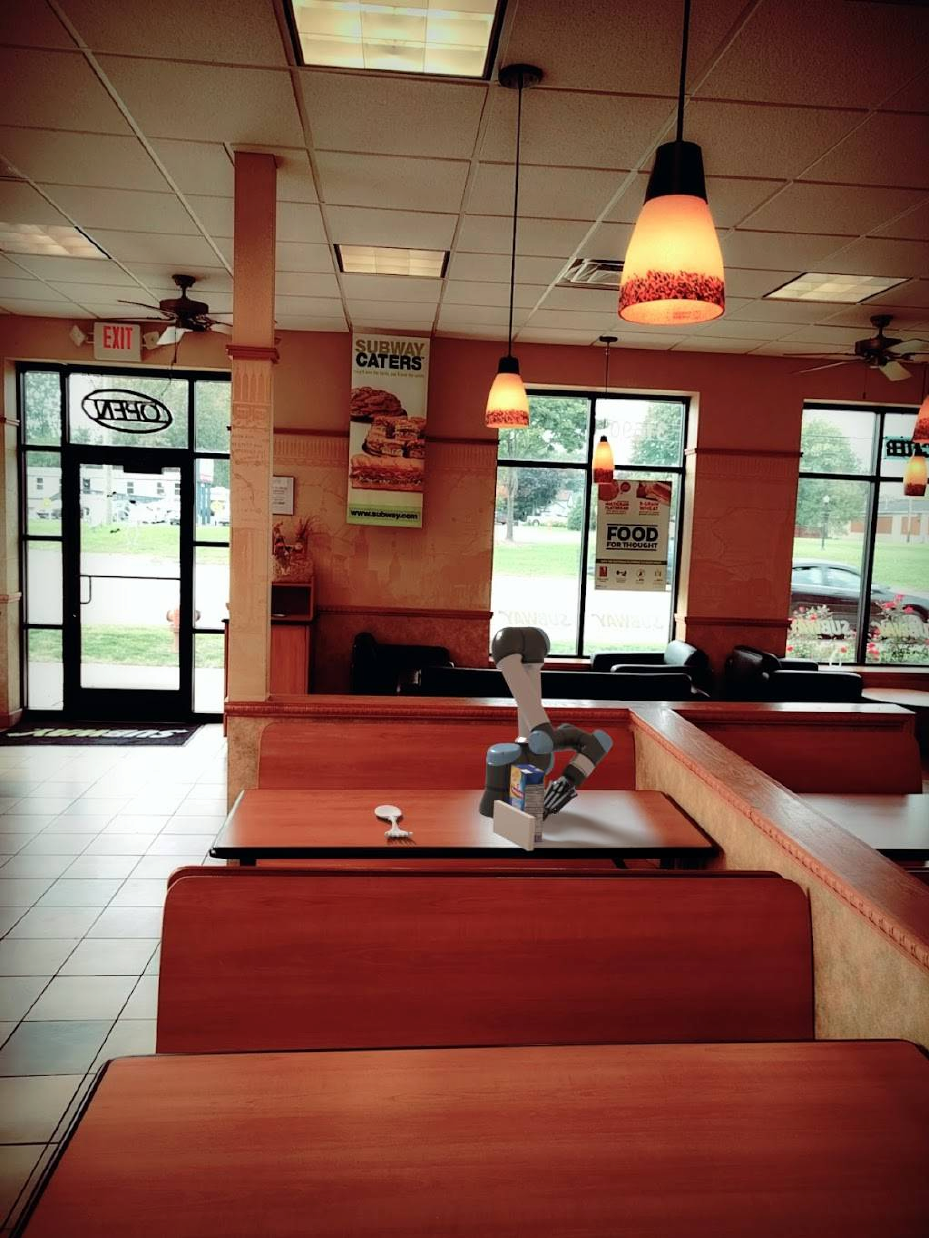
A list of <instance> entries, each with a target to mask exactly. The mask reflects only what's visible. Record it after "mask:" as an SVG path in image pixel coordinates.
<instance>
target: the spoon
mask: <svg viewBox="0 0 929 1238" xmlns="http://www.w3.org/2000/svg"><path fill="white" fill-rule="evenodd" d="M374 814H375V815H376V816H378V817H379V818H381V819H387V820H388V821H391V824H392V826H391V829H389V830H387V831H385V832H384V836H385V837H392V838H400V837H401V838H402V837H403V838H404V837H408V836H413V835H414V834H413V833H414V832H412V831H409V832H408V831H406V830H402V829H401V828H400V827H399V826H398V824H397V820H398V818H399V817H401V816H402V810H401V809H400V808H398V807H396V806H393V805H390V804H389V805H387V804H385V805H380V806H377V807H375V809H374Z"/></svg>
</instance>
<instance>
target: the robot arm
mask: <svg viewBox="0 0 929 1238" xmlns="http://www.w3.org/2000/svg"><path fill="white" fill-rule="evenodd" d="M490 647H491V648H490V650H491V651H490V652H491V657H492V661H493V663H494V665H495V667H496V669H497V670H499V671H501V673H502V675H503V678H504V680H505V682H506V683H507V685H508V687H509V690H510V692H511V694H512V696H513V698H514V700H515V702H516V705H517V723H518V724H517V725H518V737H516V739H515V740H514V743H512V742H506V743H504V742H503V743H501V742H500V743H496V744H493V745H491V746H490V747H489V748H488V750H487V752H486V753H487V754H486V755H487V756H486V760H485V761H486V762H485V763H486V764H485V785H484V792H483V794H482V796H481V798H480V799H481V800H480V802H479V804H478V805H479V806H478V812H479V813H480V814H482V815H484V816H486V817H490V818H493V816H494V801H496V800H500V801H502V802H504V803H507V804H509V801H510V784H511V767H512V765H529V764H531V765H533V766H535V767H536V768H538V769H540V770H542V771H544V772H546V776H547V775H549V774H550V772H552V769H553V768H554V765H555V753H559V752H566V751H567V752H568V751H573V752H575V754H574V756H573V757H572V758H571V759H570V760H569V763H568V764H566V766H565V767H564V768H563V769H562V771H561V776H560V777H559V778H557V780H555V781H553V780H551V779H550V781H549V783H548V786H547V787H546V789H545V793H544V810H543V822H545V821H546V820H547V818H549V816H550V815H552V814H553V815H557V814H558V813H559V812H561V810H562V809H563V808H564V807H566V805H568V804H569V803H570V802H571V801H572V800H573V799H574V798H576V797H578V795H579V794H578V792H577V788H578V787H579V788H580V787H581V786H583V784H584V782H585V781H586V779H587V778H588V777H589V775H591V774H592V772H593V770H595V769H596V767H597V765H598V764H599V763H600V762H601V760H603V758H604V757H605V756H606V755H607V754H608V753H609V751H610V749H611V748H612V746H613V743H614V741H613V740H612V738H611V736H610V735H609V734H607V733H606V732H605V731H603V730H602V729H595V730H594V731H593V732H592V733H588V732H587V731H584V730H583V729H580V728H579V727H576V726H575V725H572V724H569V723H562V724H560V725H559V726H558V727H557V728H554V726H553V724H552V722H551V721H550V719H549V717H548V715H547V712H546V711H545V708H544V706H543V704H542V681H541V680H542V679H541V676H542V675H541V669H542V667H543V666H544V665H545V658H546V657H548V655H549V653H550V651H551V641H550V637H549V635H548V633H546V632H545V630H544V629H542V628H541V627H537V626H536V627H535V626H507V627H503V628H501V629H500V630H498V631H497V632H496V634H495V635H494V637H493V638H492V642H491V645H490Z"/></svg>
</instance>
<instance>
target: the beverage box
mask: <svg viewBox="0 0 929 1238" xmlns="http://www.w3.org/2000/svg"><path fill="white" fill-rule="evenodd" d="M546 776H547V775H546V772H544V771H542V770H540V769H538V768H536V767H535V766H533V765H531V764H529V765H512V767H511V784H510V801H509V805H511V806H513V807H515V808H517V809H519V810H521V811H523V812H525V813H527V814H529V815H531V816H533V817H535V832H534V843H542V841H543V840H542V839H543V838H542V837H543V822H544V821H543V810H544V793H545V791H546V789H545V788H546V778H547V777H546Z"/></svg>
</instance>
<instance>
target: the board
mask: <svg viewBox="0 0 929 1238" xmlns="http://www.w3.org/2000/svg"><path fill="white" fill-rule="evenodd" d="M492 818H493V819H492V833H493V832H494V833H495V834H497V835H499V836H500V837H502V838H505V839H506V840H507V841H510V842H511V843H513V844H514V845H516V846H518V847H520V848H522V849H524V850H526V851H527V852H528V851H529V852H530V851H534V849H535V848H534V846H535V842H534V832H535V817H533V816H531V815H529V814H527V813H525V812H523V811H521V810H519V809H517V808H515V807H513V806H511V805H509V804H507V803H504V802H502V801H500V800H496V801H494V816H493V817H492Z"/></svg>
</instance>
